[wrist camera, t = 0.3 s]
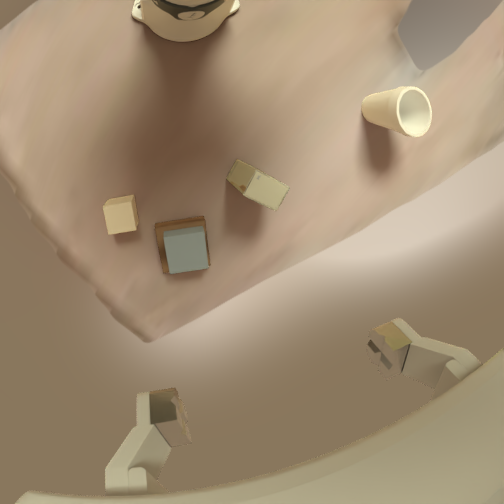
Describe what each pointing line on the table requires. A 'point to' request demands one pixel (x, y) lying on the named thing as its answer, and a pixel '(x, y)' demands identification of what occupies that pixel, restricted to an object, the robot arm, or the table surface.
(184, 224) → the walnut base brick
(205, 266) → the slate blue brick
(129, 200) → the cream brick
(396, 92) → the foam cup
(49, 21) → the table surface
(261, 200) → the skincare box
